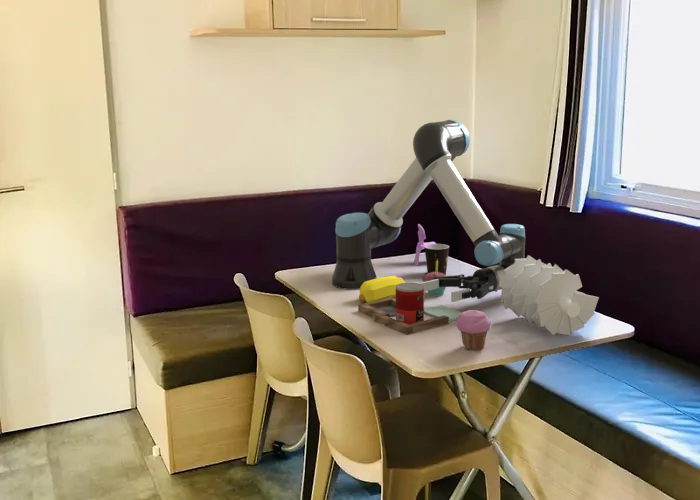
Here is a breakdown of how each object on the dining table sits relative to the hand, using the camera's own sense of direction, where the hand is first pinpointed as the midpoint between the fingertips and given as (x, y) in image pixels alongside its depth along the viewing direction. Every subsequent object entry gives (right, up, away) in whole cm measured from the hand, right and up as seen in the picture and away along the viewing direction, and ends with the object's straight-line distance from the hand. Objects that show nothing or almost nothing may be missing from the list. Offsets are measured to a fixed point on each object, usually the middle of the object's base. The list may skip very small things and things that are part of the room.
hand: (436, 292), depth 226 cm
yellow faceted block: (-15, -4, +21) cm, 26 cm away
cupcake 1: (+3, -2, +25) cm, 25 cm away
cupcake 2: (+7, -13, -25) cm, 29 cm away
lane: (-11, -8, +1) cm, 13 cm away
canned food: (-8, -9, -4) cm, 12 cm away
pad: (+3, -7, +3) cm, 8 cm away
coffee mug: (+5, +3, +47) cm, 48 cm away
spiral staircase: (+29, -9, -8) cm, 32 cm away
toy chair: (+4, +7, +64) cm, 65 cm away
